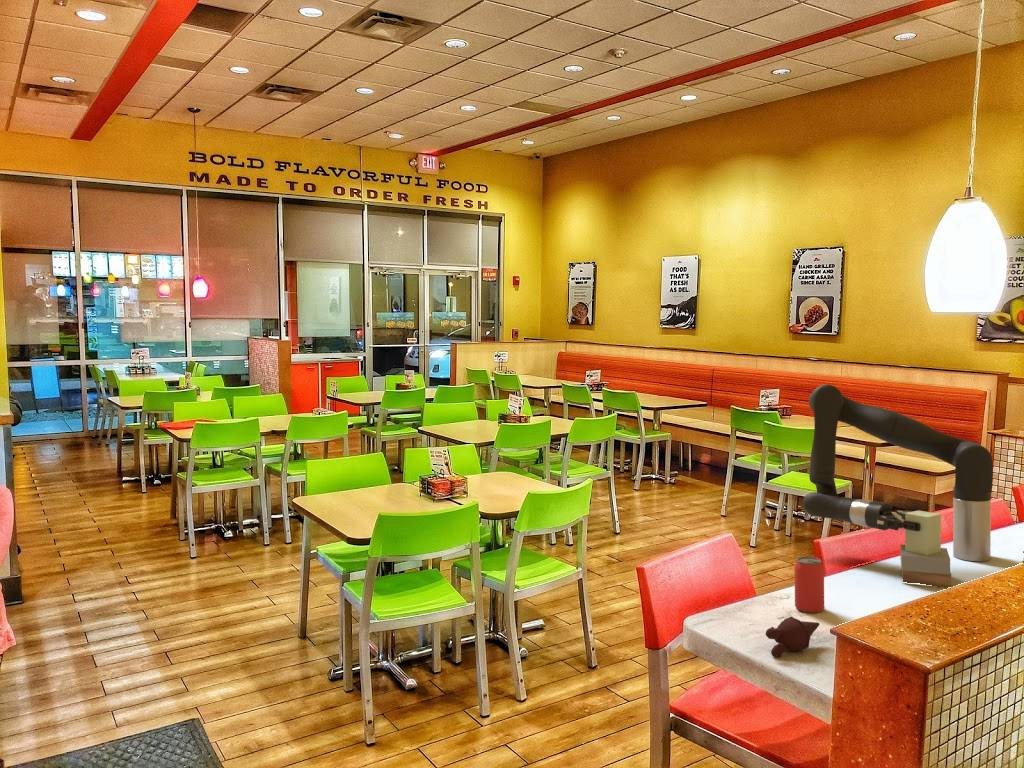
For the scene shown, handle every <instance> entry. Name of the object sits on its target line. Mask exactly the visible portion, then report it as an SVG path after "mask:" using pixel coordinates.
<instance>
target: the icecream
mask: <svg viewBox="0 0 1024 768" xmlns="http://www.w3.org/2000/svg"><path fill="white" fill-rule="evenodd" d="M819 626H820V622H819V621H818V622H817V621H816V622H815V621H803V620H802V621H801V620H800V619H797V618H795V617H793V616H788V617H786V618H785V619H784V620H782V621H781V622H780V623H779V624H778V625H777V627H774V626H771V627H769V628H767V629H766V630H765V636H766V637H767V639H769V640H774V641H775V643H777V644H776V645H774V646H773V647H772V649H771V651H770V655H771V656H772V657H774V658H778V657H781V656H782V655H783V654H784V653H785V652H786V651H793V652H797V651H802V650H804V649H806V650H807V649H808V648H809V647H810V641H811V636H812V635H813V634H814V632H815V631H816V630H817V629H818V628H819Z"/></svg>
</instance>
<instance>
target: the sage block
mask: <svg viewBox="0 0 1024 768" xmlns="http://www.w3.org/2000/svg"><path fill="white" fill-rule="evenodd" d="M912 511H913V510H912ZM941 516H942V515H941V513H937V512H936V513H935V512H930V511H925V510H919V509H918V510H915V511H913V512H909V513H905V521H906V520H907V521H912V522H917V523H920V531H912V530H907V529H904V530H905V533H904V534H905V536H904V537H905V538H904V539H905V543H904V545H905V551H910V552H914V553H919V554H923V555H931V554H935V553H938V552H941V548H942V546H941V544H942V543H941V542H942V541H941V540H942V539H941V537H942V536H941V535H942V534H941V533H942V532H941V530H942V527H941V526H942V522H941V521H942V517H941Z"/></svg>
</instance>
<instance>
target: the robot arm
mask: <svg viewBox="0 0 1024 768" xmlns="http://www.w3.org/2000/svg"><path fill="white" fill-rule="evenodd" d="M808 405H809V408H810V410H811V411H812V412H813V419H814V420H813V421H814V431H813V439H812V444H811V445H812V446H811V450H810V451H811V452H810V458H809V459H810V460H809V476H808V477H809V481H810V483H812V484H813V485H815V488H816V492H810V493H808V494H806V495H805V496H804V497H803V500H802V508H803V510H804V511H805V513H807V515H810V516H813V517H819V518H824V519H825V518H826V519H831V520H833V519H834V520H838V521H842V522H846V523H850V524H855V525H858V526H861V527H865V528H871V529H874V530H875V529H876V530H880V531H888V530H894V531H899V530H901V531H904V530H905V529H907V530H912V531H920V523H917V522H912V521H907V520H906V521H905V513H909V512H913V510H907V509H904V510H896V511H895V510H894V508H893V506H892V505H891V504H890V503H887V502H881V501H876V500H870V499H859V498H852V497H847V496H846V497H845V496H842V497H841V496H838V491H837V486H836V481H835V473H836V449H837V447H836V445H837V431H838V423H839V422H841V423H842V424H846V425H849V426H850V427H851V426H852V427H854V428H855V429H857V430H860V431H861V432H863V433H866V434H868V435H870V436H872V437H875V438H877V439H879V440H881V441H882V442H883V441H884V442H886V443H889V444H891V445H893V446H896V447H899V448H902V449H904V450H909V451H912V452H917V453H923V454H926V455H929V456H931V457H935V458H936V459H939V460H941V461H943V462H945V463H947V464H949V465H951V466H952V467H954V469H955V475H954V477H955V479H954V487H953V489H952V490H953V491H952V497H953V500H952V501H953V505H952V507H953V513H952V514H953V517H952V519H953V522H952V526H953V528H952V533H953V535H952V536H953V538H952V543H953V544H952V550H953V551H952V553H953V554H952V556H954V557H955V558H957V559H960V560H962V561H963V560H964V561H971V562H987V561H990V560H991V545H992V544H991V543H992V542H991V541H992V540H991V538H992V537H991V533H992V532H991V523H992V522H991V520H992V519H991V517H992V516H991V512H992V510H991V508H992V507H991V494H992V491H993V486H994V485H993V482H994V480H993V479H994V460H993V456H992V453H991V452H990V451H989V450H988V449H987V448H986V447H985V446H983V445H981V444H980V443H977V442H975V441H970V440H966V439H963V438H959V437H955V436H952V435H949V434H946V433H943V432H941V431H939V430H936V429H935V428H932V427H931V426H928V425H927V424H924V423H922V422H921V421H918V420H917V419H915V418H913V417H909V416H907V415H905V414H902V413H900V412H896V411H894V410H890V409H886V408H883V407H878V406H874V405H869V404H864V403H861V402H857V401H855V400H854V399H851V398H849V397H846V396H844V395H843V393H842V391H841V390H840V389H839V388H838V387H837V386H835V385H833V384H821V385H819V386H818V387H816V388H815V389H813V391H812V392H811V393H810V396H809V398H808Z"/></svg>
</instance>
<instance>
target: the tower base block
mask: <svg viewBox="0 0 1024 768" xmlns="http://www.w3.org/2000/svg"><path fill="white" fill-rule="evenodd" d="M901 579H903V580H902V583H903V582H907V583H920V584H926V585H932V586H937V587H936V588H941V587H944V588H943V589H949V588H948V587H951V588H952V573H951V571H950V575H946V574H936V573H925V572H914V571H903V570H902V569H901Z"/></svg>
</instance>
